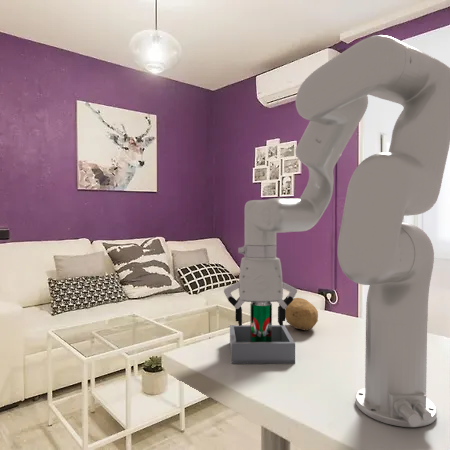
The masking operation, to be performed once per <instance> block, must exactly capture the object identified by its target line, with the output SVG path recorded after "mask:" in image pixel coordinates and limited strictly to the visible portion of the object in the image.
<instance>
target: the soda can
mask: <svg viewBox="0 0 450 450" xmlns="http://www.w3.org/2000/svg"><path fill="white" fill-rule="evenodd" d="M249 305H250V308H249V309H250V312H249V313H250V321H249V322H250V323H249V324H250V342H272V325H273V323H272V321H273V316H272V315H273V303H272V302H250V304H249Z"/></svg>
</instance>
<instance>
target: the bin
mask: <svg viewBox="0 0 450 450" xmlns="http://www.w3.org/2000/svg"><path fill="white" fill-rule="evenodd" d="M229 348H230V359H231V364H232V365H253V364H254V365H262V364H263V365H267V364H268V365H270V364H271V365H275V364H276V365H279V364H280V365H281V364H283V365H285V364H286V365H289V364H290V365H291V364H292V365H293V364H296V341H295V340H294V339H293V337H292V336H291V333H290V332H289V330H288V328H287V327H286V325H285V324H283V326H281V325H279V324H272V342H250V325H249V324H248V325H247V324H246V325H245V324H244V325H243V324H242V325H241V326H239V324H235V325H232V324H231V325H229Z"/></svg>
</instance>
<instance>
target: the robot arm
mask: <svg viewBox="0 0 450 450" xmlns="http://www.w3.org/2000/svg"><path fill="white" fill-rule="evenodd" d="M368 95H369V96H372V97H375V98H379V99H381V100H385V101H389V102H392V103H396V104H399V105H400V106H402V107H403V108H402V111H401V112H400V113H399V115H398V117H397V119H396V121H395V123H394V126H393V128H392V132H391V140H390V145H389V148H388V152H387V151H386V152H379V153H373V154H372V155H369V156H368V157H366V158H365V159H364V160H362V161H361V162H359V164H358V165H357V166H356V168H355V170H354V171H353V173H352V174H351V176H350V180H349V182H348V185H347V188H346V189H347V190H346V194H345V201H344V205H343V206H344V207H343V211H342V215H341V216H342V218H341V221H340V222H341V223H340V229H339V234H338V241H337V259H338V264H339V266H340V269H341V272H342V273H343V274H344V275H345V277H346V278H348V279H349V280H350V281H352V282H353V283H355V284H358V285H363V286H368V289H367V295H366V303H365V304H366V305H365V307H366V308H365V354H364V355H365V361H364V362H365V364H364V366H365V369H364V370H365V374H364V375H365V376H364V378H365V379H364V382H365V383H364V384H365V385H364V387H362V388H360V389H359V390H358V391H357V392H356V393H355V404H356V406H357V408H358V409H359V410H360V411H361V412H362V413H363V414H365V415H366V416H367V417H370V418H371V419H374V420H375V421H378V422H381V423H384V424H387V425H392V426H396V427H402V428H403V427H404V428H420V427H426V426H428V425H430V424H433V423H434V422H435V421H436V419H437V415H438V414H437V412H438V411H437V407H436V405H435V404H434V403H433V401H431V400H430V399H429V398H428V397H427V370H428V369H427V365H428V359H427V358H428V321H429V319H428V318H429V317H428V315H429V293H430V286H431V280H432V275H433V270H434V263H435V252H434V246H433V243H432V241H431V239H430V237H429V235H428V234H427V233H426V232H425V231H424V230H422V229H421V228H420V227H418V226H416V225H414V224H411V223H407V222H403V220H404V216H405V217H407V216H408V217H409V216H417V215H421V214H424V213H426V212H428V211H429V210H431V209H432V208H433V207H434V206H435V204H436V203H437V201H438V199H439V195H440V192H441V187H442V183H443V182H442V181H443V178H444V172H445V169H446V165H447V164H446V163H447V159H448V153H449V150H450V67H449V66H448V65H447V64H445V63H444V62H443V61H440V60H439V59H437V58H435V57H432V56H431V55H429V54H427V53H425V52H423V51H421V50H419V49H418V48H415V47H413V46H411V45H408V44H407V43H405V42H403V41H401V40H400V39H397V38H394V37H392V36H389V35H383V34H379V35H378V34H377V35H372V36H368V37H366V38H364V39H362V40H360V41H358V42H357V43H355V44H353V45H352V46H350V47H349V48H347V49H346V50H344V51H343V52H341V53H339V54H338V55H336V56H335V57H333V58H331V59H329V60H328V61H326V62H325V63H323V64H322V65H321V66H319V67H318V68H317V69H315V70H314V71H312V72H311V73H310V74H309V75H308V76H307V77H306V78H305V79H304V80H303V82H301V85H300V87H299V88H298V91H297V92H296V97H295V108H296V111H297V114H298V115H299V116H300V117H302V118H303V119H305V120H307V121H309V122H308V124H307V126H306V128H305V130H304V132H303V134H302V136H301V138H300V140H299V142H298V143H297V146H296V147H295V155H296V157H297V159H298V160H299V161H300V163H302V164H303V165H304V166H305V167H307V169H308V180H307V183H306V186H305V188H304V190H303V192H302V194H301V195H300V196H299V198H296V197H295V198H292V197H291V198H290V197H285V198H283V197H281V198H278V197H277V198H276V197H274V198H269V199H253V200H252V199H251V200H248V201H246V203H245V205H244V245H243V246H241V247H238V249H237V250H238V251H237V252H238V254H242V255H244V257H242V258H241V259H240V260H241V261H240V266H239V267H240V268H239V274H238V275H239V277H238V280H237V282H235V283H233V284H230V285H228V286H227V287H225V288H224V289H223V293H224V295H225V297H226V299H227V301H228V302H229V303H230V304H231V305H232V306H233V307H234V308H235V322H237V323H238V324H237V325H239V326H241V325H243V307H242V305H243V304H244V303H245V302H246V303H251V302H271V303H272V302H273V303H274V302H277V303H278V307H277V323H278V325H281V326H283V325H284V322H285V321H286V318H285V309H286V308H287V306H288V305H289V304H290V303H291V302H292V301H293V299H294V298H296V295H297V293H298V290H297V288H296V287H293V286H291V285H289V284H288V283H285V282H284V281H283V270H282V262H281V258H279V257H277V234H280V233H293V232H295V233H297V232H298V233H299V232H306V231H309V230H312V228H313V227H315V225H317V224H318V223H319V221H320V219H321V218H322V216H323V215H324V213H325V211H326V210H327V208H328V207H329V205H330V202H331V200H332V197H333V192H334V182H335V180H334V168H335V166H336V165H337V163H338V161H339V160H340V157H341V156H342V153H343V152H344V150H345V148H346V147H347V145H348V143H349V141H350V140H351V138H352V137H353V135H354V133H355V131H356V130H357V127H358V126H359V124H360V122H361V121H362V119H363V117H364V115H365V114H366V111H367V109H368V106H369V97H368ZM236 290H238V293H239V296H238V298H237V299H236V298H235V297H234V296H233V295H232V292H234V291H236ZM284 290H286V291H288V295H287V296H286V297H285V298H284V299H283V297H284Z"/></svg>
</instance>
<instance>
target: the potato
mask: <svg viewBox="0 0 450 450" xmlns="http://www.w3.org/2000/svg"><path fill="white" fill-rule="evenodd" d="M318 318H319V312H318V309H317V307H316V306H315V305H314V304H312V303H310V302H309V301H308V300H307V299H305V298H303V297H302V298H301V297H294V298H293V301H292V302H291V303H290V304H289V305H288V306H287V308H286V309H285V321H286V323H288V324H289V325H290V326H291V327H293V328H295V329H298V330H303V331H307V330H310V329H312V328H314V327H315V326H316V324H317V323H318V321H319V320H318Z"/></svg>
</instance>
